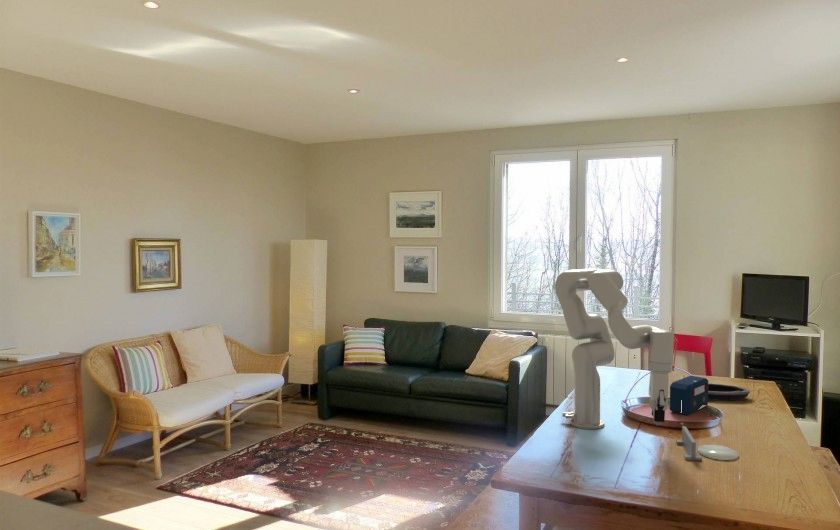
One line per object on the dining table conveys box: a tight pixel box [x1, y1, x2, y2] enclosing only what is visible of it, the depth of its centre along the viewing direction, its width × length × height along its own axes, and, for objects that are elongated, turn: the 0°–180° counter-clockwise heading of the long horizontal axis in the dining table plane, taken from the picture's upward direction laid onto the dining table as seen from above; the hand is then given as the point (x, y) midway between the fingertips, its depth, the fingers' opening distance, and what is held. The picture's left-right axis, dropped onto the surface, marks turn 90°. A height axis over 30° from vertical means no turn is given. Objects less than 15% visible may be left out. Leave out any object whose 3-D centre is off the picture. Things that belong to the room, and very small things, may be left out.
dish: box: [708, 383, 751, 401], centre depth 263 cm, size 16×31×5 cm, turn 73°
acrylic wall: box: [675, 425, 703, 462], centre depth 198 cm, size 5×16×6 cm, turn 166°
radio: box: [669, 375, 709, 416], centre depth 244 cm, size 21×9×20 cm, turn 131°
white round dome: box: [697, 444, 739, 461], centre depth 196 cm, size 12×12×1 cm
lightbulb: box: [648, 397, 669, 426], centre depth 201 cm, size 6×6×11 cm
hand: (657, 418), depth 201 cm, fingers closed on lightbulb, 4 cm apart
